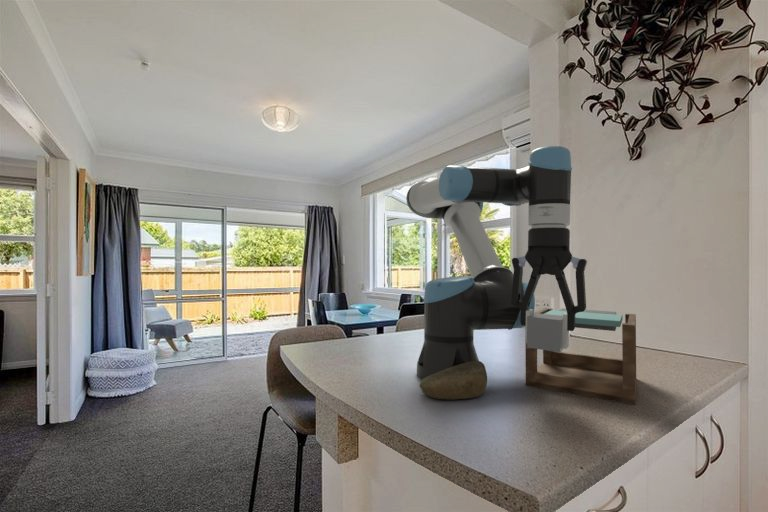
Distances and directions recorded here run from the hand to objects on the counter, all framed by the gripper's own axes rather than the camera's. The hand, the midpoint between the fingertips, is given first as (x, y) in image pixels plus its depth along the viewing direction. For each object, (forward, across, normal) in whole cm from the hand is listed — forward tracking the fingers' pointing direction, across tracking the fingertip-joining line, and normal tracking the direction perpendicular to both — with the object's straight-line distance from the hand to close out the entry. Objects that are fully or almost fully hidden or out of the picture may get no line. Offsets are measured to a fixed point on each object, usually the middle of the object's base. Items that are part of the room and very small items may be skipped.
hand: (546, 344), depth 74 cm
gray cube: (0, 0, 0) cm, 0 cm away
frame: (+11, +5, +16) cm, 20 cm away
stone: (+11, -15, -8) cm, 21 cm away
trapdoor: (0, +5, +20) cm, 20 cm away
